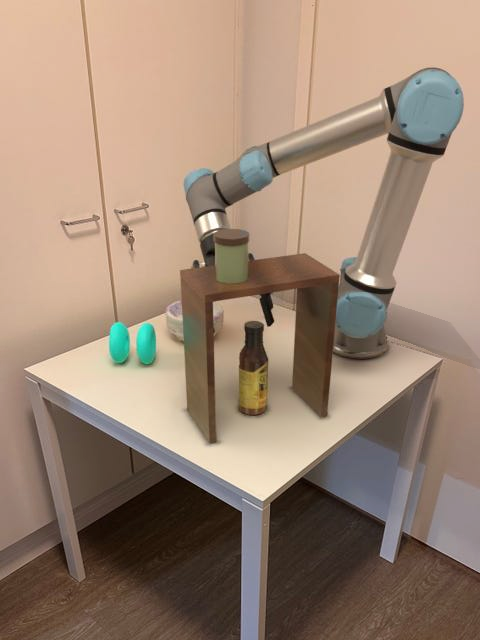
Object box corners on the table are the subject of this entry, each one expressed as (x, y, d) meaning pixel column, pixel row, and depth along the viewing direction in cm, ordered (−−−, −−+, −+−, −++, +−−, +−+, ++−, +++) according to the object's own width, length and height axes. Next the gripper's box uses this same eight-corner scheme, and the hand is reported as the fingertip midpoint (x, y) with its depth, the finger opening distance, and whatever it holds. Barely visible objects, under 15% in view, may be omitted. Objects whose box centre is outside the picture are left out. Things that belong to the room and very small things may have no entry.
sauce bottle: (264, 418, 135) (266, 332, 125) (235, 415, 136) (235, 330, 126) (269, 402, 141) (271, 319, 130) (241, 399, 142) (242, 317, 131)
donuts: (151, 371, 153) (147, 333, 148) (110, 370, 154) (105, 332, 148) (158, 353, 162) (155, 316, 156) (119, 351, 162) (115, 315, 157)
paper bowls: (209, 353, 162) (208, 324, 157) (157, 342, 167) (154, 314, 162) (232, 330, 173) (232, 302, 169) (183, 321, 178) (182, 294, 174)
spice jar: (248, 272, 120) (248, 228, 116) (250, 284, 115) (250, 238, 110) (214, 272, 120) (213, 229, 115) (214, 284, 114) (213, 239, 110)
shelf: (297, 386, 147) (305, 253, 130) (327, 416, 136) (339, 274, 119) (187, 410, 138) (179, 270, 121) (209, 443, 127) (204, 294, 110)
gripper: (262, 241, 145) (288, 326, 142) (158, 254, 137) (182, 345, 134) (273, 224, 138) (300, 313, 135) (163, 236, 130) (189, 331, 127)
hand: (241, 329), depth 134 cm, fingers open, 13 cm apart
